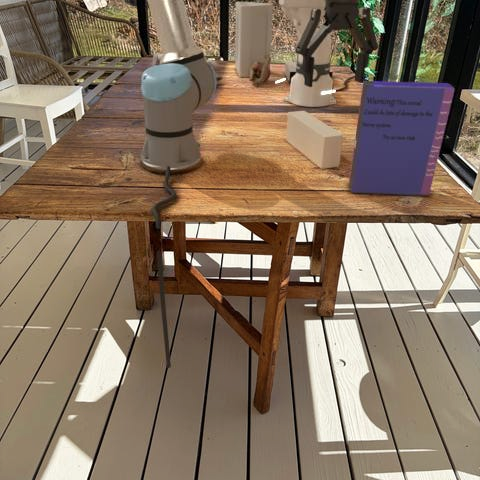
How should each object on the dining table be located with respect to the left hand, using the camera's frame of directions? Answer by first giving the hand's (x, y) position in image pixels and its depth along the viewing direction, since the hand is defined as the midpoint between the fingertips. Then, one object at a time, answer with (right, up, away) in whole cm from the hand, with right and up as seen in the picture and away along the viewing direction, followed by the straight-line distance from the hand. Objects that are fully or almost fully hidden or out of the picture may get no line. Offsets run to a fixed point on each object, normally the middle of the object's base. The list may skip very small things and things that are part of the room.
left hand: (333, 83), depth 114 cm
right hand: (-2, +24, +22) cm, 32 cm away
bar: (-3, -13, +17) cm, 22 cm away
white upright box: (-16, +39, +103) cm, 112 cm away
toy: (-48, +43, +110) cm, 127 cm away
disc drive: (+7, +33, +94) cm, 100 cm away
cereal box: (+12, -26, -4) cm, 29 cm away
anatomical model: (-15, +28, +85) cm, 91 cm away
